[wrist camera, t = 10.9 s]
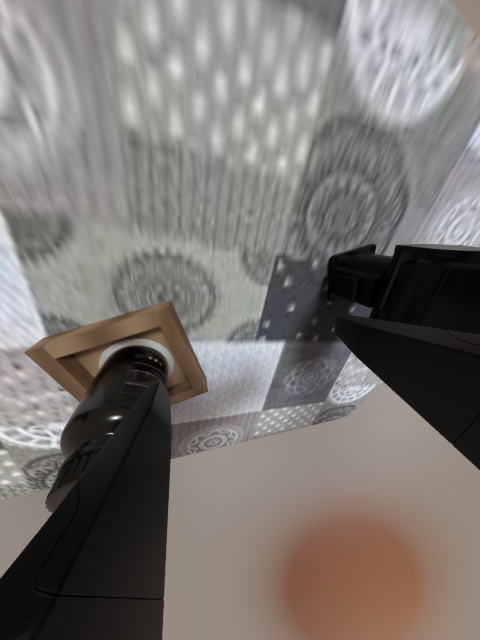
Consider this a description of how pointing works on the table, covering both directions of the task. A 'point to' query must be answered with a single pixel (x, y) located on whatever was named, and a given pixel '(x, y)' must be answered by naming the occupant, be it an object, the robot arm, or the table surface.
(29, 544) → the robot arm
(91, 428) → the supplement bottle
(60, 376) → the holder
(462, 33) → the table surface
